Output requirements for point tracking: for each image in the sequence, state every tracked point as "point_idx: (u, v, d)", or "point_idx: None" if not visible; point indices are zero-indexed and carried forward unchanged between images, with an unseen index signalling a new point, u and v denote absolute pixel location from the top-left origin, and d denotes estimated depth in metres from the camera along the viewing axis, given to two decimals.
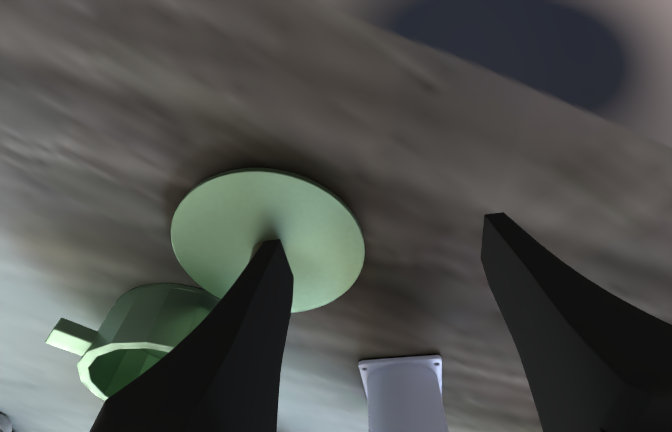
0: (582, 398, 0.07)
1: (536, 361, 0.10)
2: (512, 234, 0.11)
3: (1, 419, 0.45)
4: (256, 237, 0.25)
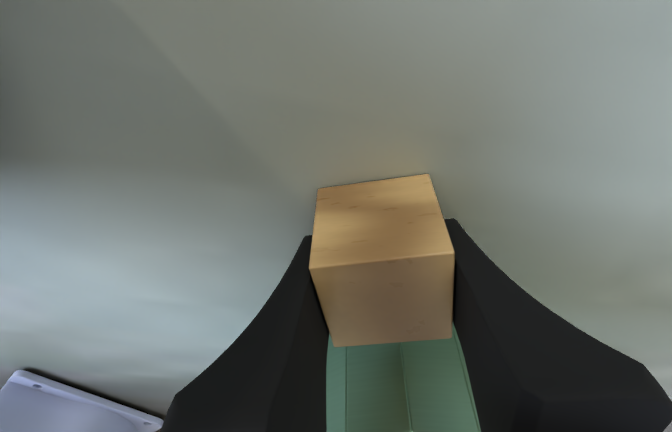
0: (500, 403, 0.08)
1: (474, 365, 0.10)
2: (456, 240, 0.11)
3: None
4: None
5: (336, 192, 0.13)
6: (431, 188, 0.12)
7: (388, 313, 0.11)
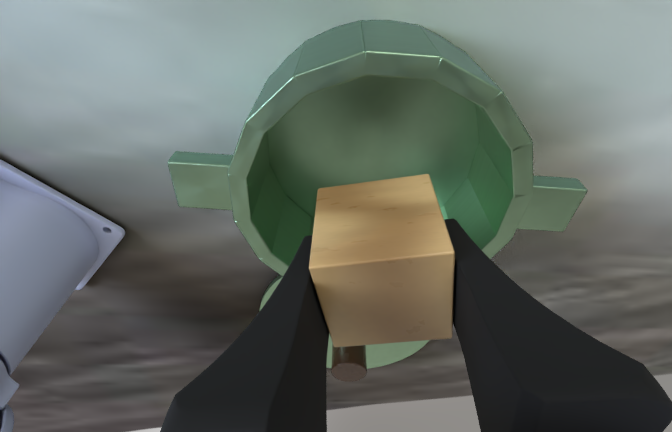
0: (499, 403, 0.08)
1: (474, 365, 0.10)
2: (456, 240, 0.11)
3: None
4: None
5: (336, 192, 0.13)
6: (431, 188, 0.12)
7: (388, 313, 0.11)
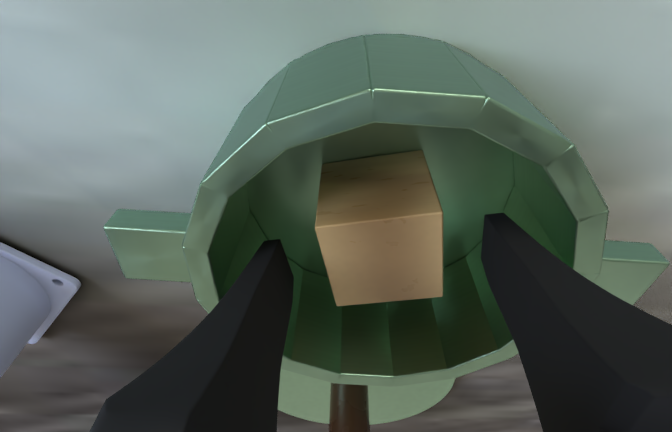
0: (582, 398, 0.07)
1: (536, 361, 0.10)
2: (512, 234, 0.11)
3: None
4: (370, 387, 0.24)
5: (339, 166, 0.14)
6: (424, 161, 0.13)
7: (385, 272, 0.13)
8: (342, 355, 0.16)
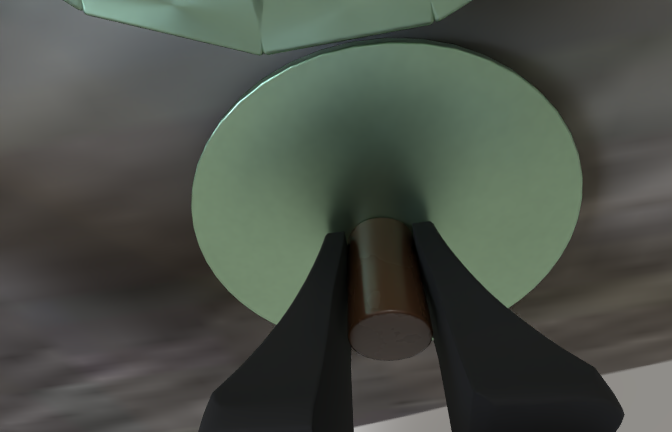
0: (461, 404, 0.08)
1: (444, 367, 0.10)
2: (430, 243, 0.11)
3: None
4: None
5: None
6: None
7: None
8: None
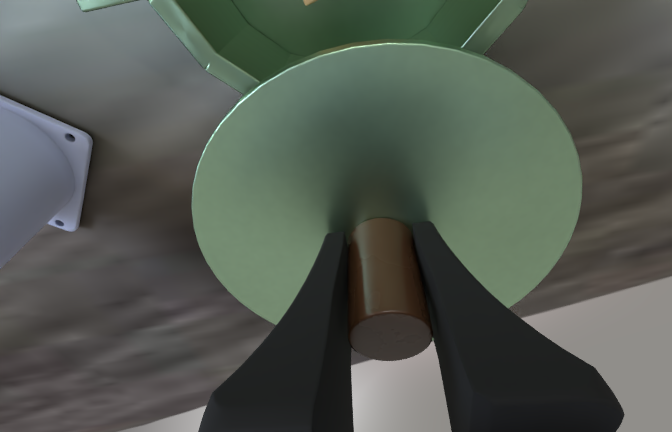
0: (461, 404, 0.08)
1: (444, 367, 0.10)
2: (430, 243, 0.11)
3: None
4: None
5: None
6: None
7: None
8: None
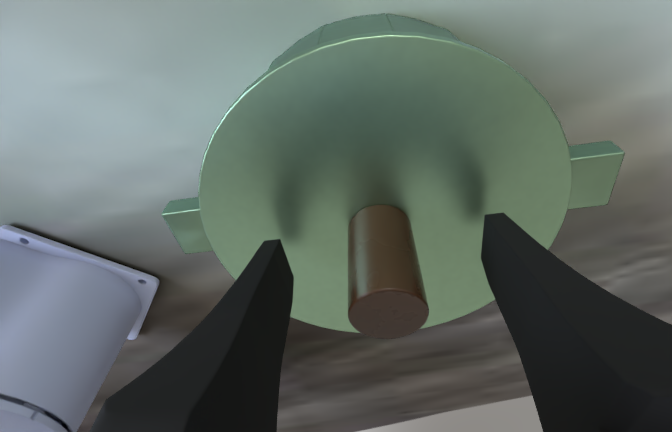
0: (582, 398, 0.07)
1: (536, 361, 0.10)
2: (512, 234, 0.11)
3: None
4: (419, 238, 0.14)
5: None
6: None
7: None
8: None
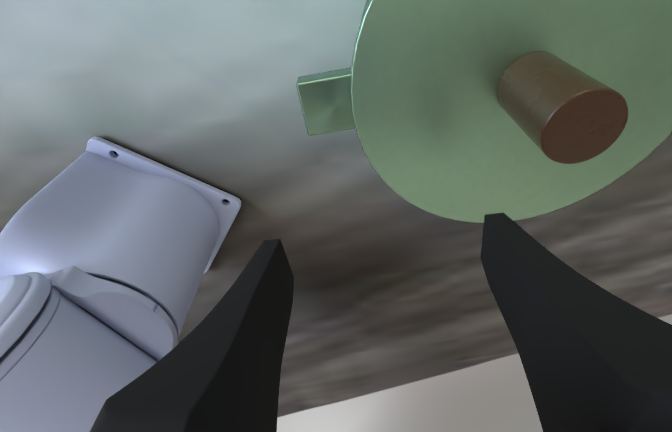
0: (582, 398, 0.07)
1: (536, 361, 0.10)
2: (512, 234, 0.11)
3: None
4: None
5: None
6: None
7: None
8: None
